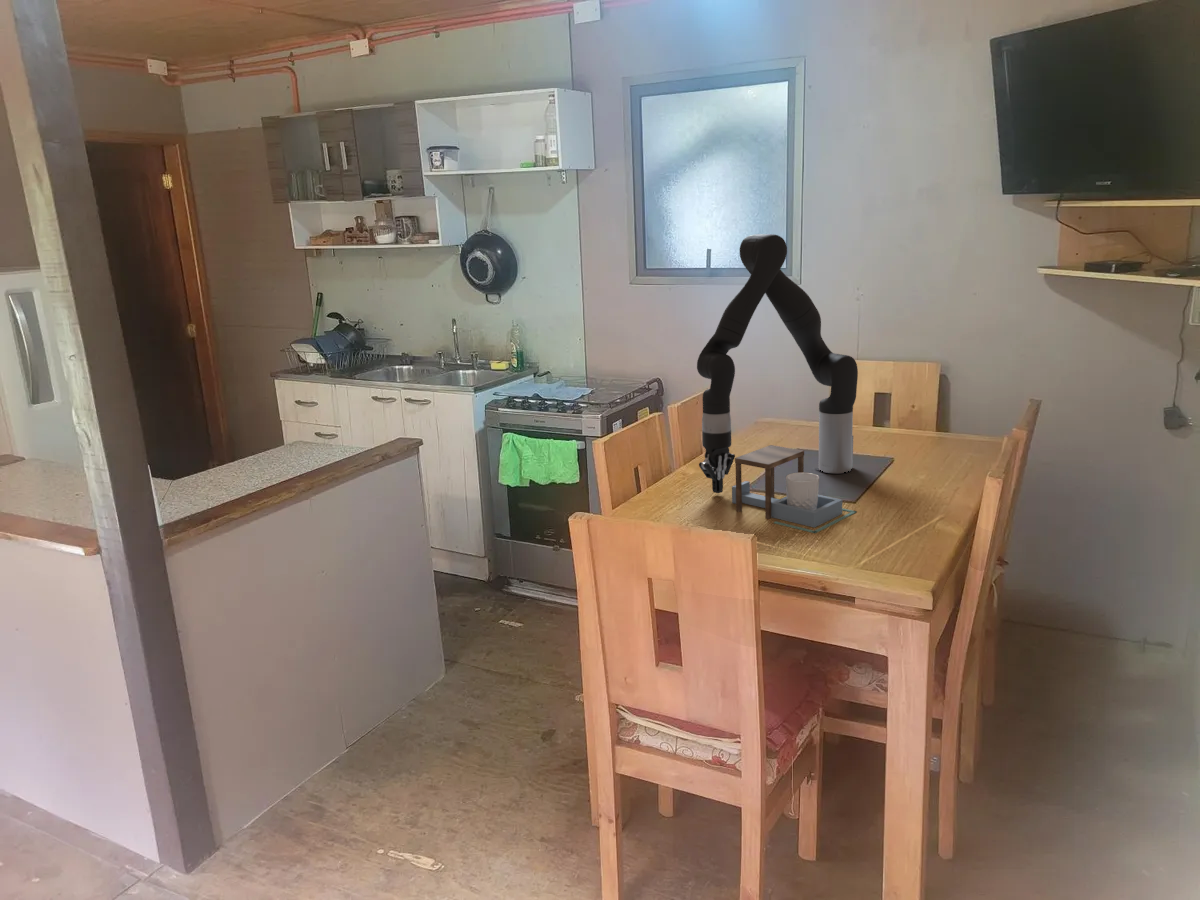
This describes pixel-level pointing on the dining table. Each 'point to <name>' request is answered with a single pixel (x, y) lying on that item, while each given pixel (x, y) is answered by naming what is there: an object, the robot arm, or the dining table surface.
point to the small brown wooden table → (766, 469)
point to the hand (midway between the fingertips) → (717, 492)
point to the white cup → (802, 490)
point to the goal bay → (822, 526)
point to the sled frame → (793, 507)
